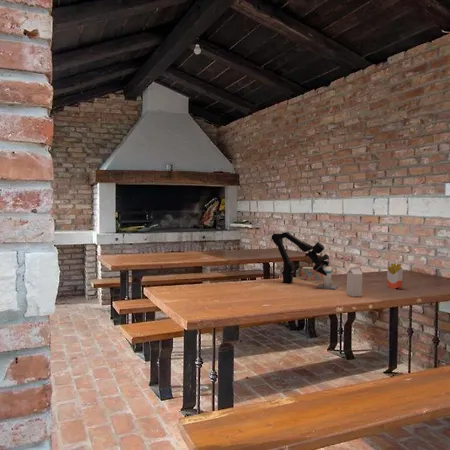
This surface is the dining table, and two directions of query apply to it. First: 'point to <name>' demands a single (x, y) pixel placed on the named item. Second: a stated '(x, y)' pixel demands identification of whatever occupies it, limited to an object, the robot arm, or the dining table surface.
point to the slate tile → (327, 287)
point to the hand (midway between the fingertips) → (328, 274)
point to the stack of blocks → (311, 273)
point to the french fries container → (394, 276)
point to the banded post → (327, 278)
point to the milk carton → (354, 282)
